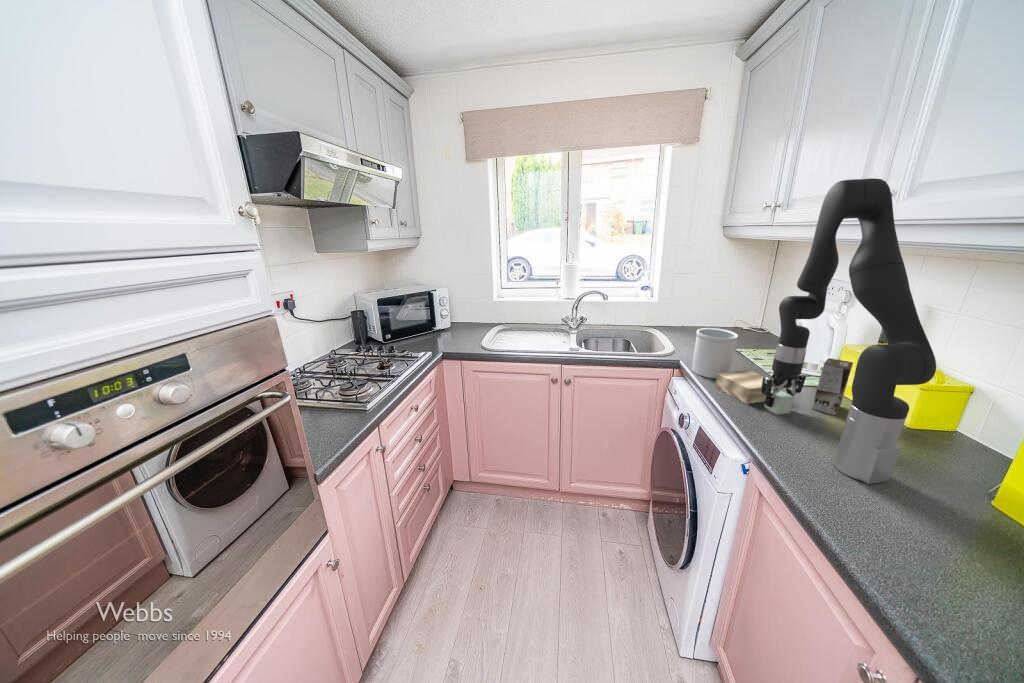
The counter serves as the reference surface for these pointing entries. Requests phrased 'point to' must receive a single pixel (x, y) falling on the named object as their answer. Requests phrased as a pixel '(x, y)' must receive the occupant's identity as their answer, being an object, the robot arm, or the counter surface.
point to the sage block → (781, 403)
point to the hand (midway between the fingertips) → (777, 404)
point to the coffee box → (832, 385)
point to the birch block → (742, 385)
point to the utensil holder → (713, 351)
